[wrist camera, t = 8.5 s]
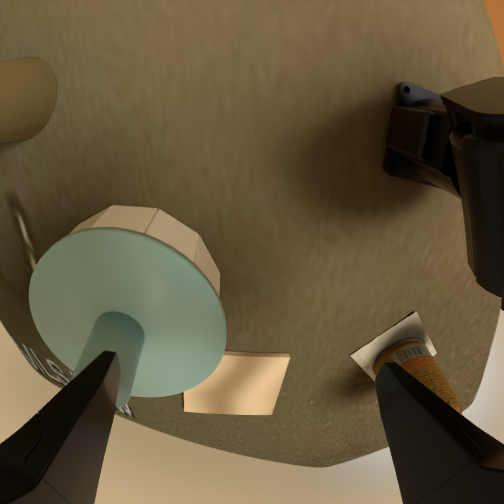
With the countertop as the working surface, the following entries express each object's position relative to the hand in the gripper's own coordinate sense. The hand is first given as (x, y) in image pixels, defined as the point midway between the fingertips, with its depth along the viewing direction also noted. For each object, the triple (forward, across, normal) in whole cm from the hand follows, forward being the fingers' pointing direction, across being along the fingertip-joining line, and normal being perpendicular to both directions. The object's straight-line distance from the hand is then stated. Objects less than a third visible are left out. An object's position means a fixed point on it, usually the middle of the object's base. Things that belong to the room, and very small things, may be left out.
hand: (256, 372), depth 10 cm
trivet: (+12, -1, +16) cm, 20 cm away
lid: (+8, +7, +6) cm, 12 cm away
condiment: (+13, -17, +12) cm, 24 cm away
